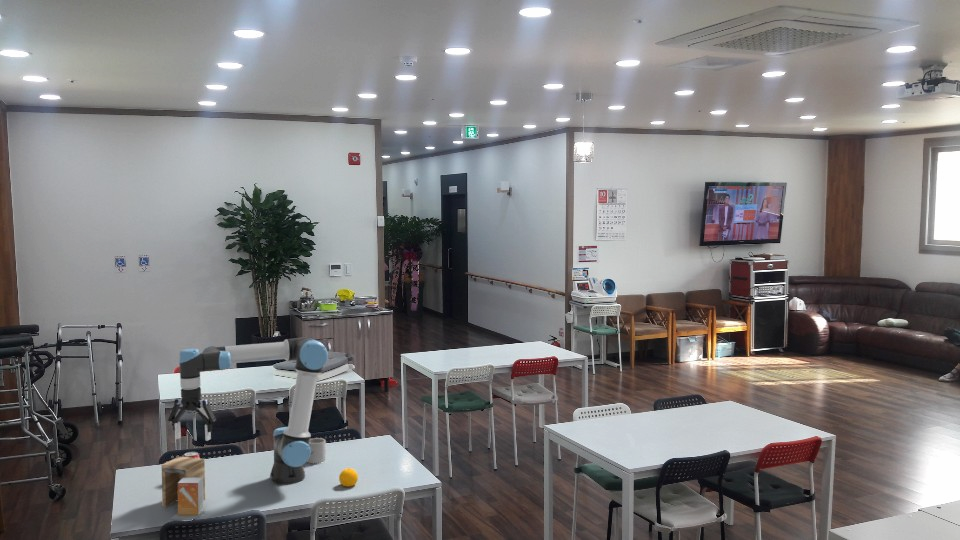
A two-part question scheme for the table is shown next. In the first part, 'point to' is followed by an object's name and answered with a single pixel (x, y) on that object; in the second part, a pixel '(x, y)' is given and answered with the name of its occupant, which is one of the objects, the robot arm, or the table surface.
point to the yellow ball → (348, 477)
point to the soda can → (192, 455)
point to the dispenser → (179, 476)
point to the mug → (317, 450)
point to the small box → (190, 496)
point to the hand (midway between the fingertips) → (193, 439)
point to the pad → (186, 517)
